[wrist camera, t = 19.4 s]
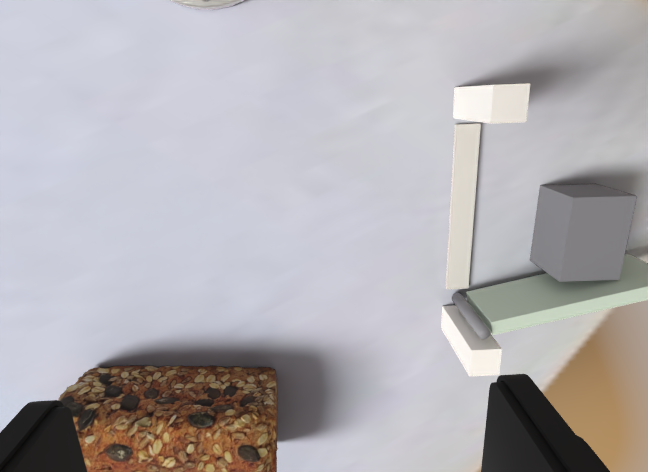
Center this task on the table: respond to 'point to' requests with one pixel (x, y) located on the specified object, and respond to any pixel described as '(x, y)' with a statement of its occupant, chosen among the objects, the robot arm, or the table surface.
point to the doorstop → (581, 231)
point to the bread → (176, 418)
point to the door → (549, 299)
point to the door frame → (488, 108)
